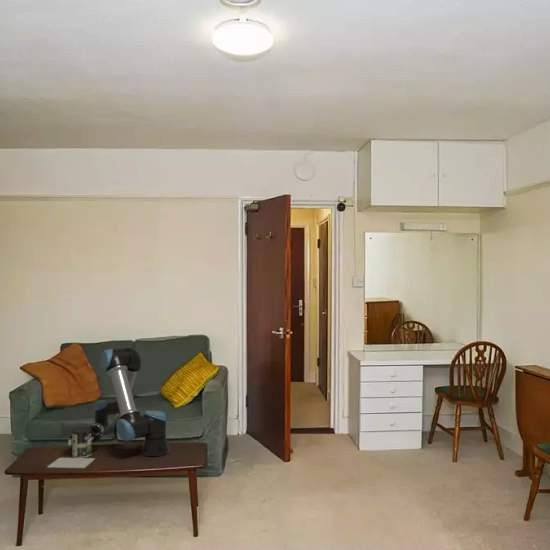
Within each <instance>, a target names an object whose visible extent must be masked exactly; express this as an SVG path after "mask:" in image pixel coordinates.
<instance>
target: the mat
mask: <svg viewBox="0 0 550 550" xmlns="http://www.w3.org/2000/svg"><path fill="white" fill-rule="evenodd" d="M94 460H96V458H95V457H93V458H91V457H90V458H89V457H84V458H74V457H59V458H57V459H56V460H54V461H53V462H52V463H50V464H48V465H47V466H46V468H51V469H56V468H57V469H85V468H87V467H88V466H89V465H90V464H91V463H92V462H94Z"/></svg>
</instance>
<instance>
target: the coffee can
mask: <svg viewBox="0 0 550 550" xmlns="http://www.w3.org/2000/svg"><path fill="white" fill-rule="evenodd" d="M91 431H92V429H91V428H89V427H77V428H74V429H72V431H71V436H72V444H71V445H72V447H71V448H72V450H71V451H72V453H71V454H72V457H71V458H89V457H90V456H92V444H90V445H89V446H87V441H88V440H89V439H91Z"/></svg>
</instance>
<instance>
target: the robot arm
mask: <svg viewBox="0 0 550 550" xmlns="http://www.w3.org/2000/svg"><path fill="white" fill-rule="evenodd" d="M141 366H142V358H141V355H140V353H139V351H137V349H135V348H133V347H123V348H122V347H121V348H120V347H119V348H111V349H106V350H104V351H103V352H102V354H101V357H100V368H101V370H102V371H106V374H107V375H108V376H109V377H110V378H111V379H110V380H111V382H112V387H113V390H114V394H115V398H116V400H115V401H113V402H108V400H106V399H100V400H97V401H96V402H95V403H94V424H92V425H91V426H90V427H88V428H91V429H92V431H91V439H89V440H88V441H87V446H89V445H90V444H91V445H92V444H93V443H96V442H100V441H101V438H102V437H103V434H104V433H106V432H107V431H108V430H109V428H110V427H111V422H110V420H109V416H113V415H119V414H120V415H119V417H118V420H117V421H116V430H117V434H118V436H119V438H120V439H122V440H123V441H134V440H136V439H140V438H144V441H143V445H142V448H141V455H142V454H143V455H142V456H144V455H145V456H144V457H147V456H158V457H162V456H161V455H163V456H165V455H164V454H166V455H168V454H169V453H170V446H169V443H168V441H167V417H166V416H167V415H166V413H165V412H163V411H161V410H146V411H144V414H143V415H142V414H141V412H140V410H138V409H137V408H136V405H135V401H134V398H133V397H134V396H133V394H132V393H133V388H134V385H135V382H136V378H137V374H138V372H139V371H140V370H141ZM71 445H72V435H70V436H69V440H68V446H71ZM168 452H169V453H168ZM167 453H168V454H167Z"/></svg>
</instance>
